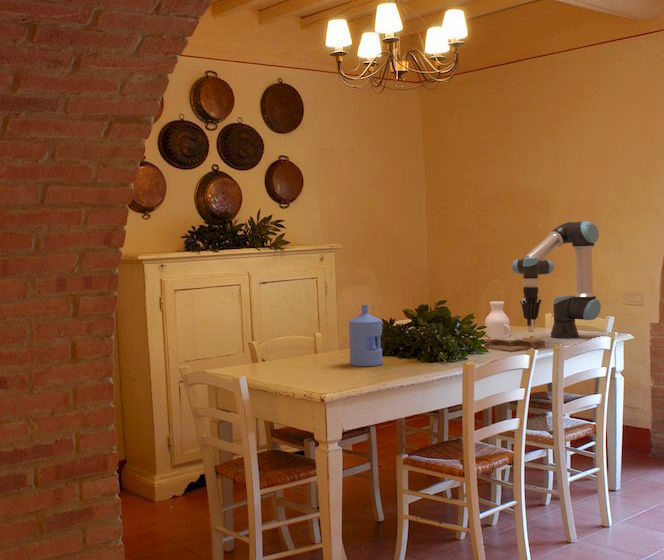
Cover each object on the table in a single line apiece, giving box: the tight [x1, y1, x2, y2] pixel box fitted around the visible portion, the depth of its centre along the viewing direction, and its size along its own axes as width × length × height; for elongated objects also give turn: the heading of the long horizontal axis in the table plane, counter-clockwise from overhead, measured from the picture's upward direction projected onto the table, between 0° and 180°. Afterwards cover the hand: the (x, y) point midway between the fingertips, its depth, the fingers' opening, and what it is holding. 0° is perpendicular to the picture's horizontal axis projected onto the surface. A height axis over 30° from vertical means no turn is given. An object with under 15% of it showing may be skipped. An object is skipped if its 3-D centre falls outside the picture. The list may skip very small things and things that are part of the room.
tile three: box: [522, 335, 541, 342], centre depth 441 cm, size 6×6×3 cm
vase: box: [484, 300, 511, 338], centre depth 490 cm, size 14×14×20 cm
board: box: [484, 339, 546, 353], centre depth 445 cm, size 24×27×4 cm
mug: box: [490, 321, 512, 340], centre depth 472 cm, size 12×8×10 cm
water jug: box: [348, 304, 384, 368], centre depth 400 cm, size 16×16×28 cm
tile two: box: [481, 337, 497, 341], centre depth 449 cm, size 6×6×3 cm
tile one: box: [502, 337, 519, 342], centre depth 445 cm, size 6×6×3 cm
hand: (531, 331), depth 440 cm, fingers closed
